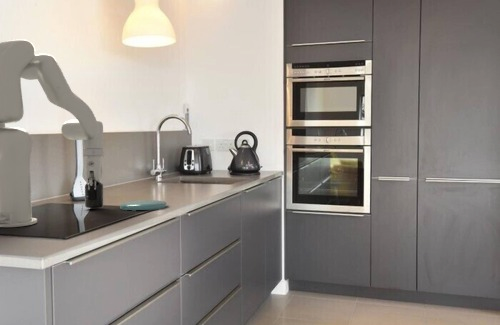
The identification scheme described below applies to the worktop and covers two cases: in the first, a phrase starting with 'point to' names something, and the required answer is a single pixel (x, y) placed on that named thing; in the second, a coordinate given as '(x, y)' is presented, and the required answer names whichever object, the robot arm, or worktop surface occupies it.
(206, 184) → the worktop surface
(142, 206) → the dish
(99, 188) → the supplement bottle
